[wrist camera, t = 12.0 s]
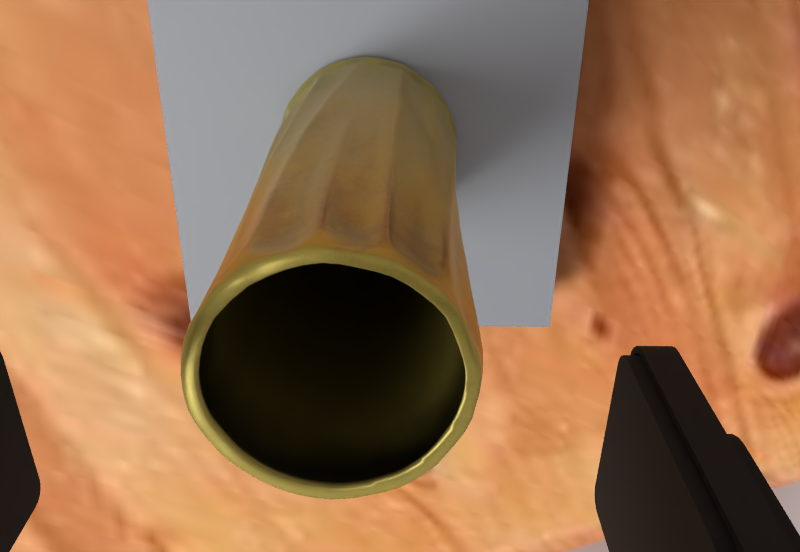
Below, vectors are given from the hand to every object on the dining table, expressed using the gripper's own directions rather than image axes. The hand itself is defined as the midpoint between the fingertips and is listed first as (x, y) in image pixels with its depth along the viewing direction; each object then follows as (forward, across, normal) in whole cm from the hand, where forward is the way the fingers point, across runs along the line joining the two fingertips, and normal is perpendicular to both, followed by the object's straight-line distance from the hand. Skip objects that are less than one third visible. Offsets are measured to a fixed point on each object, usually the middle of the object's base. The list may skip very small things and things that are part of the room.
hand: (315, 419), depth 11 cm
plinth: (+19, 0, +1) cm, 19 cm away
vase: (+16, 0, +1) cm, 16 cm away
